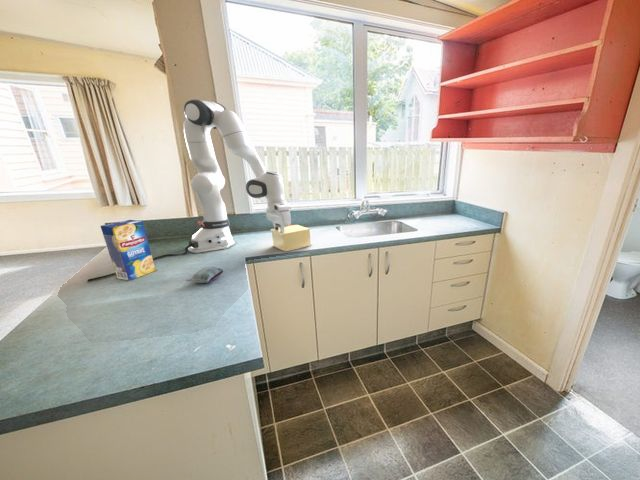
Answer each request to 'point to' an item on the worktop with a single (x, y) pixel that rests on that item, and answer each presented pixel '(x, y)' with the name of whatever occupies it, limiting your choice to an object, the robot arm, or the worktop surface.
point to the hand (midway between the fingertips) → (279, 230)
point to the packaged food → (206, 275)
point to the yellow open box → (291, 240)
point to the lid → (289, 229)
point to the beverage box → (128, 249)
